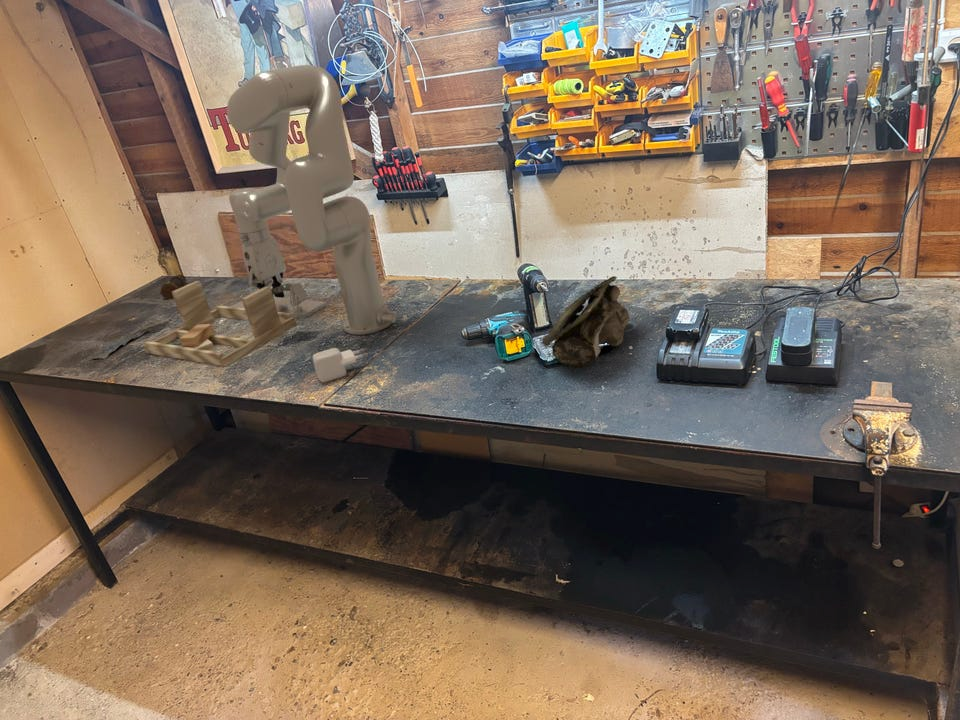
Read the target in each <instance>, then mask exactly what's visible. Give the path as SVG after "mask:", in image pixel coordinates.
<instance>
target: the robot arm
mask: <svg viewBox="0 0 960 720" xmlns="http://www.w3.org/2000/svg"><path fill="white" fill-rule="evenodd" d="M341 96H342V95H341V91H340V89H339V86H338V84H337V82H336V80H335V78H334V77H333V76H332V74H331V73H329V72H328V71H327V70H326V69H324V68H323V67H320V66H318V65H313V64H304V65H293V66H287V67H282V68H275V69H269V70H265V71H260V72H258V73H255V74H254V75H252V76H251V77H250V78H249V79H248V80H247V81H245V82H244V83H243V84H241V86H239V87H238V89H236V90H235V91H234V92H232V94H231V95H230V97H229V100H228V102H227V105H226V106H227V107H226V115H227V119H228V122H229V123H230V126H231V127H232V128H233V129H234V130H235V131H236V132H238V133H239V134H244V135H245V134H249V142H248V143H249V144H248V152H249V155H250V156H251V158H252V159H253V160H254V161H256V162H258V163H260V164H263V165H265V166H270V167H274V168H276V182H275V183H274V184H271V185H268V186H266V187H262V188H259V189H256V188H253V187H245V188H241V189H236V190H233V191H231V192H230V194H229V195H228V200H229V204H230V208H231V209H232V212H233V215H234V219H235V222H236V225H237V229H238V232H239V235H240V237H239V238H238V241H239V243H242V245H241V247H242V248H241V249H242V256H243V261H244V265H245V269H246V273H247V276H248V282H247V283H248V286H250V287H255V288H257V289H258V290H259V289H261V288H263V287H265V286H269V283H268V282H269V281H268V280H270V279H271V281H272V283H271V287H272V288H271V289H273V288H276V287H279V286H281V285H282V283H283V277H284V273H285V272H286V270H287V266H286V263H285V259H284V257H283V253H282V251H281V249H280V247H279V244H278V242H277V241H276V239H275V236H273V235H271V231H270V228H269V223H268V221H267V220H270V219H273V218H274V217H278V216H280V215H282V214H285V213H288V212H290V211H291V214H292V218H293V220H294V224H295V228H296V231H297V234H298V237H299V240H300V241H301V243H302V244H303V246H304V247H306V248H307V250H309V251H312V252H314V253H319V252H320V253H321V252H325V251H327V250H329V249H331V248H332V249H333V265H334V269H335V272H336V277H337V281H338V284H339V288H340V293H341V297H342V299H343V300H342V301H343V305H344V308H345V312H346V313H345V314H346V316H347V319H346V320H345V321H344V322H343V325H342V328H343V330H344V332H346V333H347V334H350V335H359V336H360V335H367V334H374V333H376V332H377V333H378V332H380V331H382V330H384V329H386V328H388V327H389V326H391V324H394V323H396V321H397V317H398V312H397V311H393V310H392V311H390V309H389V304H385V301H384V297H383V292H382V287H381V283H380V279H379V274H378V270H377V266H376V260H375V255H374V251H373V245H372V236H371V218H370V212H369V209H368V207H367V205H366V204H365V203H364V201H362V200H360V198H358V197H354V196H348V195H347V196H341V197H338V198H335V199H332V200H330V201H327V202H325V203H324V199H326V198H329V197H331V196H335V195H337V194H340V193H342V192H344V191H346V190H348V189H349V188H350V187H352V185H353V184H354V179H355V175H354V168H353V163H352V158H351V154H350V148H349V143H348V138H347V134H346V131H345V126H344V125H345V124H344V116H343V114H344V113H343V103H342V97H341ZM303 109H308V110H309V111H308V113H307V116H306V119H305V127H304V133H305V134H304V135H305V139H306V142H307V143H306V144H307V147H308V154H307V155H303V156H300V157H298V158H297V157H296V158H295V159H293V160H290V158H289V157H288V156H287V148H288V140H289V138H288V137H289V130H290V119H291V118H290V117H291V112H296V111H299V110H303ZM276 290H277V288H276ZM271 291H272V290H271ZM281 291H282V289H281ZM284 292H285V291H283V292H280V293H277V294H272V295H273V298H274V297H277V298H286V297H285V293H284ZM274 293H275V292H274ZM274 301H275V300H274Z"/></svg>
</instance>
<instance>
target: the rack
mask: <svg viewBox="0 0 960 720" xmlns="http://www.w3.org/2000/svg"><path fill="white" fill-rule="evenodd" d="M271 289H272V288H271V286H269V285H268V286H265V287H263V288H261V289H259V288H258V289H257V290H256V291H253V292H252V293H250V294H247V295H246V296H244V297H242V298H241V301H243V304H244V307H245V308H236V307H231V306H225V305H217V306H216V307H215V308H216V309H214V310H212V311H211V308H210V306H209V301H208V299H207V297H206V294H205V291H204V289H203V285H202V283H201V281H200V280H195V281H192V282H190V283H188V284H185V286H184V287H181V288H179V289H177V290H175V291H172V294H173V297H174V302H175V306H176V307H177V310H178V312H179V316H180V317H181V320H182V323H183V325H182V326H180V327H178V328H176V329H174V330H172V331H170V332H168V333H166V334H164V335H162V336H160V337H158V338H156V339H155V340H152V341H150V340H147V341H145V342H144V345H143V348H144V351H145V353H146V354H152V355H155V356H162V357H169V358H174V359H180V360H186V361H191V362H198V363H203V364H209V365H215V366H222V367H227V366H229V365H231V364H232V363H234V362H236V361H237V360H239V359H241V358H242V357H245V356H246V355H248V354H249V353H251V352H252V351H254V350H256V349H258V348H259V347H260V346H263V345H265V344H266V343H268V342H269V341H271V340H273V339H274V338H276V337H278V336H279V335H281V334H283V333H285V332H286V331H288V330H289V329H292V327H294V326H296V325H298V323H297V321H296V317H292V315H291V313H284V312H278V311H277V308H276V305H275V301H274V298H273V297H274V294H273V295H272V291H271ZM218 318H227V319H235V320H243V321H248V323H249V326H250V329H251V331H252V335H253V339H249V338H241V337H234V336H225V335H220V334H212V335H211V336H210V337H209V338H208V340H209V341H211V342H212V343H213V345H215V344H216V345H221V346H228V347H237V348H236V349H234V350H232V351H231V352H229V353H227V354H225V355H223V352H220V351H216V352H214V351H208V350H201V349H195V348H189V347H183V346H182V345H176V344H175V345H174V344H169V343H171V342H173V341H175V340H177V339H179V338H181V337H182V336H183V335H185V334H186V333H187V332H189V331H190V330H191V329H192V328H194V327H195V326H196V325H202V324H211V325H212V324H213V323H214V322H215V319H218Z"/></svg>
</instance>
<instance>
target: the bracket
mask: <svg viewBox="0 0 960 720" xmlns="http://www.w3.org/2000/svg"><path fill="white" fill-rule="evenodd" d="M284 286H285V287H284ZM276 288H277V290H276ZM276 288H271V290H272V294H273V295H274V294H277V293H280V292H289V299H290V303H291V305H292V303H293V305H294V306H296V305H299V304H300V303H301V302H302V301H304V300H308V299H309V296H308V293H306V291H305V289H304V287H303V285H302V284H301V282H297V283H291V282H287V283H284V284H281V286H279V287H276ZM281 289H282V291H281ZM274 292H275V293H274ZM291 299H292V302H291ZM295 299H297V300H295ZM296 302H297V303H296ZM293 305H292V307H294V306H293Z"/></svg>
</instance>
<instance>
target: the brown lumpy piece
mask: <svg viewBox="0 0 960 720" xmlns="http://www.w3.org/2000/svg"><path fill="white" fill-rule="evenodd" d="M186 281H187V279H186V276H185V275H183V274H175V275H173V276H171V277H170V280H169V282H166V283H162V284H161V288H160V291H159V292H160V293H159V294H160V295H161V296H162V297H163V298H164V299H165V300H173V299H174V297H173V294H172V291H175V290H177V289H179V288H181V287H184V286H186Z"/></svg>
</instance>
